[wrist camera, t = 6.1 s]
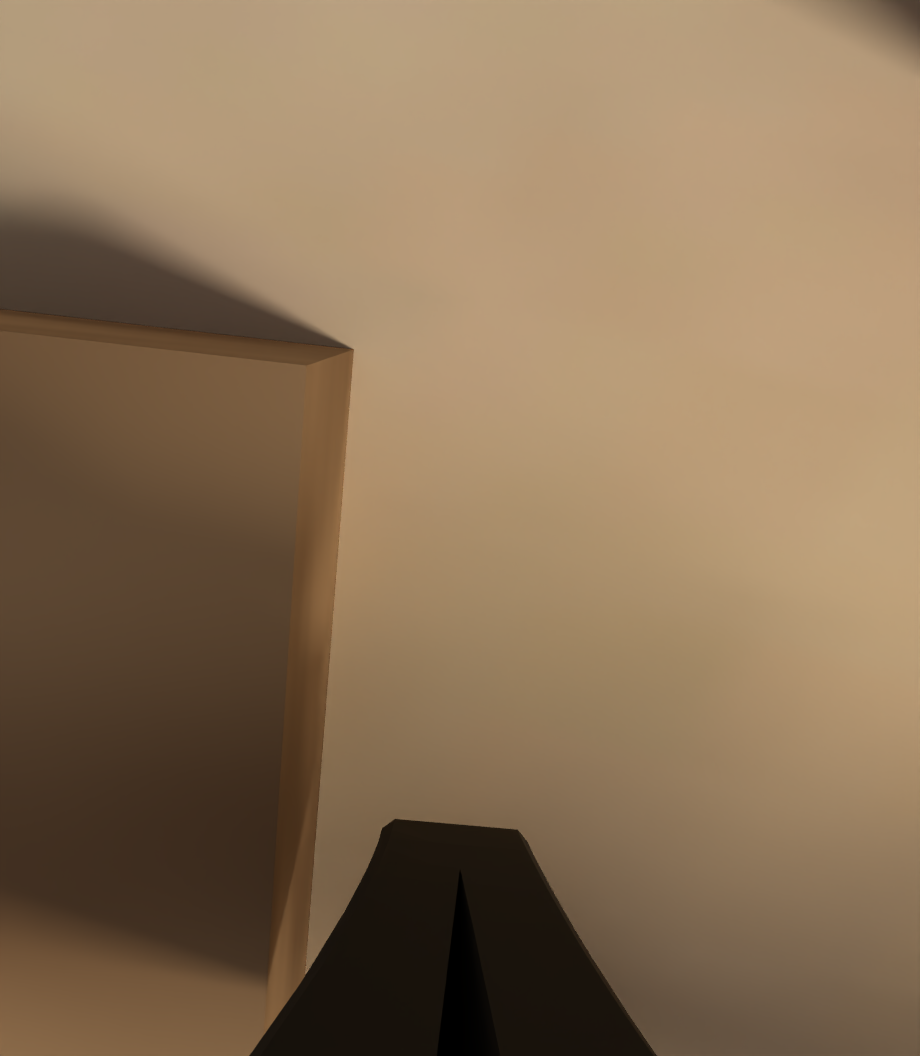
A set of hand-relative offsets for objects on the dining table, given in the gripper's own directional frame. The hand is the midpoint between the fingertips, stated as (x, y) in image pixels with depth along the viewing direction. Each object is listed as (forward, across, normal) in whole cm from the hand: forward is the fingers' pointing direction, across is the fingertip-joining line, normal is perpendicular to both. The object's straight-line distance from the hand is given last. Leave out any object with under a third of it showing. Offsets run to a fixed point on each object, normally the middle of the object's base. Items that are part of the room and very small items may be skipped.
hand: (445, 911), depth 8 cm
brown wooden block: (+3, +5, 0) cm, 6 cm away
